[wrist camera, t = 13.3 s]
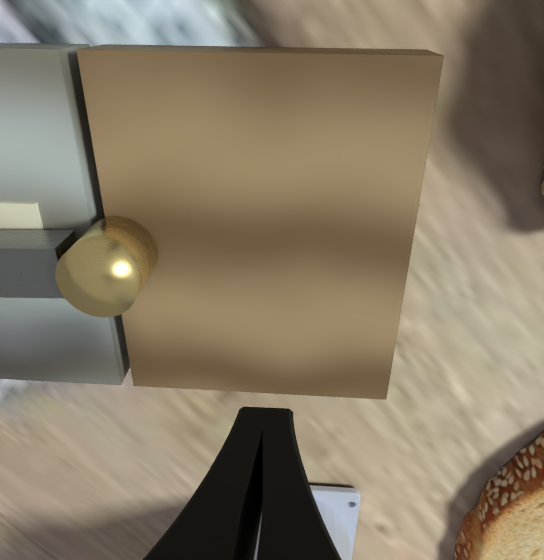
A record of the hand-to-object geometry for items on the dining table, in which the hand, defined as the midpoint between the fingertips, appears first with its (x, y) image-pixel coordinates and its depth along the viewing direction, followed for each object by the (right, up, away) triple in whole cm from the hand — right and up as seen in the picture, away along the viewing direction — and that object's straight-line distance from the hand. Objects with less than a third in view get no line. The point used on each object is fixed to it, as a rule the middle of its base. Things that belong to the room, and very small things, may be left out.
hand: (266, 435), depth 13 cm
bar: (-10, +5, +6) cm, 13 cm away
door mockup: (-6, +7, +8) cm, 12 cm away
